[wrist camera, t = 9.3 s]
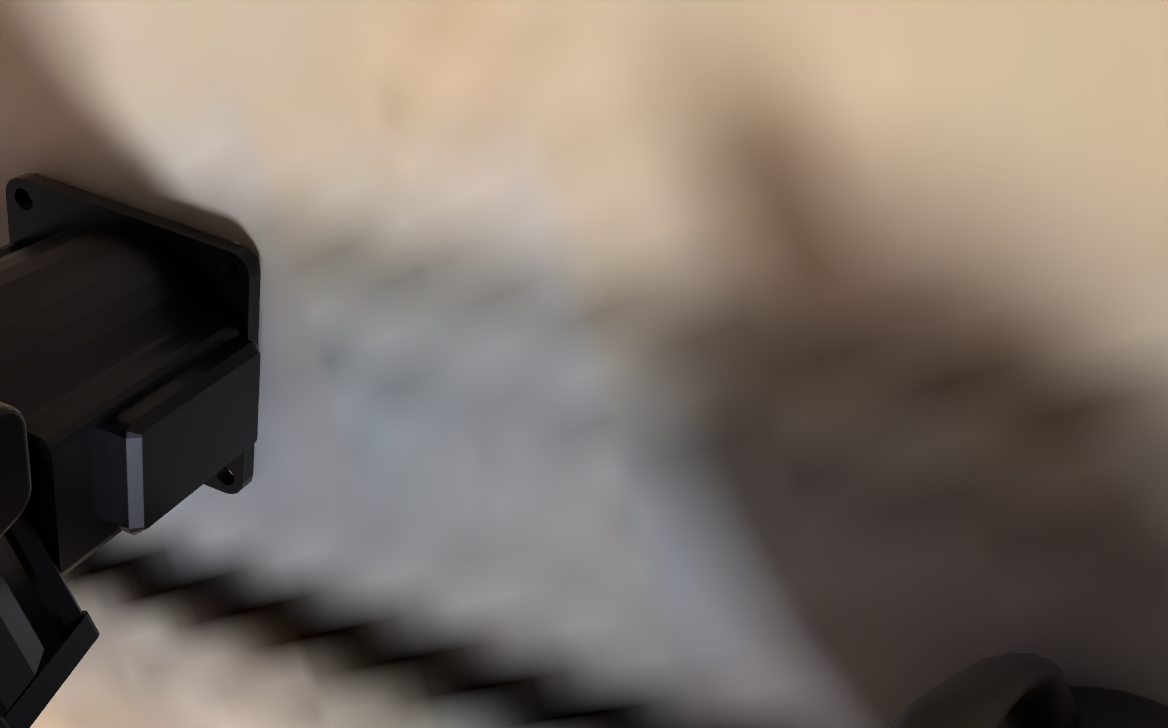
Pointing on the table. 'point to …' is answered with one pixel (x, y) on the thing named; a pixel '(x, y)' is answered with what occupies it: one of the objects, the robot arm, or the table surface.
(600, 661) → the table surface
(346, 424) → the table surface
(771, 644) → the table surface
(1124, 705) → the mug
